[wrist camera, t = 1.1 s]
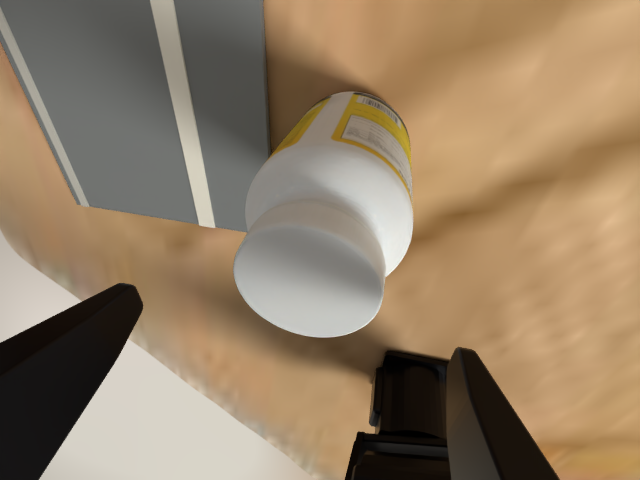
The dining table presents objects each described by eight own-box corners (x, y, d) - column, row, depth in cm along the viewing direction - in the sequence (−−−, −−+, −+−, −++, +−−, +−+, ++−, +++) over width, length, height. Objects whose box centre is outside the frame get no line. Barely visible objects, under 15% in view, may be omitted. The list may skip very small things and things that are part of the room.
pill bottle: (292, 182, 21) (206, 324, 12) (307, 74, 17) (195, 165, 8) (390, 208, 21) (377, 375, 12) (429, 104, 17) (455, 235, 8)
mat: (262, -9, 15) (257, -9, 15) (274, 232, 24) (272, 237, 23) (-22, -25, 18) (-34, -25, 17) (82, 201, 26) (76, 205, 26)
